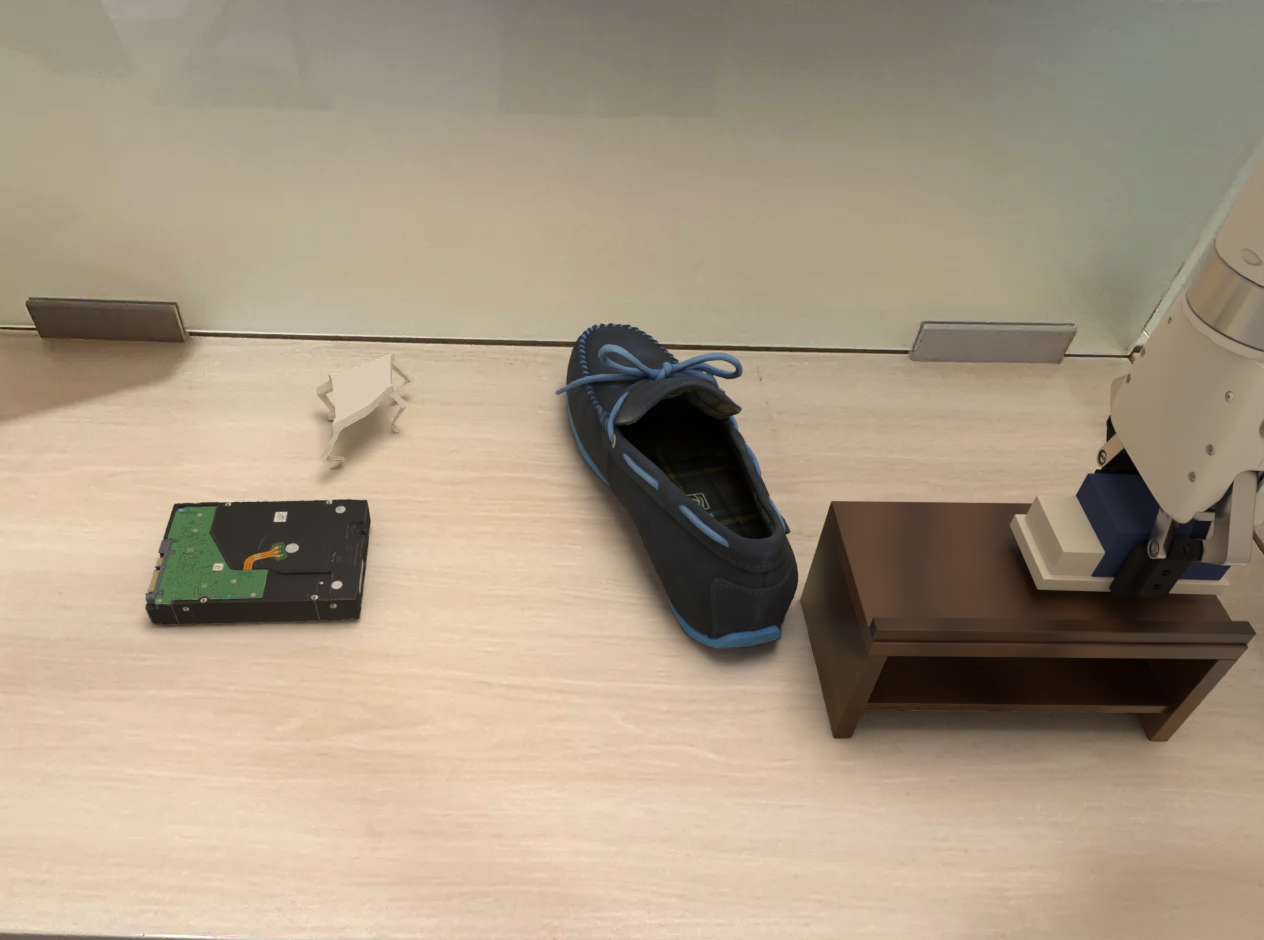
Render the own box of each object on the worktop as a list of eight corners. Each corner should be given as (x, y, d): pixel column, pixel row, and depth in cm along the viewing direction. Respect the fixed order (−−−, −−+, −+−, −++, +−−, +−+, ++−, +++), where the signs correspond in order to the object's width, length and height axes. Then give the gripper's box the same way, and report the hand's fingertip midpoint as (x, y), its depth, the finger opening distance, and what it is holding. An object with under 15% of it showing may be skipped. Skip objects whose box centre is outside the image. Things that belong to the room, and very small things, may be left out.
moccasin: (666, 359, 93) (681, 245, 84) (874, 626, 70) (923, 508, 62) (529, 388, 89) (529, 273, 81) (702, 680, 67) (729, 563, 58)
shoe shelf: (1096, 601, 72) (1166, 493, 64) (1168, 741, 64) (1259, 636, 56) (800, 598, 72) (834, 489, 64) (833, 738, 64) (877, 633, 56)
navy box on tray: (1182, 529, 62) (1221, 473, 59) (1222, 595, 58) (1266, 539, 55) (1009, 524, 62) (1037, 468, 59) (1037, 590, 58) (1069, 533, 55)
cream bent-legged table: (327, 390, 88) (319, 344, 85) (419, 396, 88) (415, 350, 84) (293, 479, 80) (283, 433, 77) (394, 486, 80) (388, 440, 76)
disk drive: (371, 522, 77) (180, 526, 76) (368, 496, 75) (171, 500, 74) (362, 624, 70) (150, 630, 69) (358, 598, 68) (140, 604, 67)
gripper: (1472, 412, 41) (1242, 671, 54) (1270, 213, 53) (1122, 464, 66) (1292, 407, 41) (1106, 667, 54) (1131, 209, 53) (1010, 461, 66)
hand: (1116, 553), depth 60 cm, fingers closed on navy box on tray, 5 cm apart
